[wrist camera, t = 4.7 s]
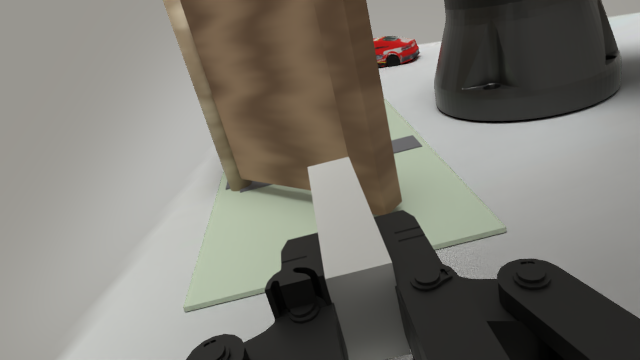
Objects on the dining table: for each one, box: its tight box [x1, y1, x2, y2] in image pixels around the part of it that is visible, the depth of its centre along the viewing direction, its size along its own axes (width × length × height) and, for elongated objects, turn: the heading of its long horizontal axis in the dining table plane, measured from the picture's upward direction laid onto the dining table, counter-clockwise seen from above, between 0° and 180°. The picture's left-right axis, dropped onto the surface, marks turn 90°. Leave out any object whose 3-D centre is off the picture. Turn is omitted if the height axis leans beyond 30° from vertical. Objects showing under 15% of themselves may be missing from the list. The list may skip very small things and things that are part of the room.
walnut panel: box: [180, 0, 402, 215], centre depth 27 cm, size 13×2×15 cm, turn 50°
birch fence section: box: [163, 0, 252, 191], centre depth 38 cm, size 2×14×16 cm, turn 5°
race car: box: [373, 36, 420, 67], centre depth 66 cm, size 13×5×4 cm, turn 65°
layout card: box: [183, 99, 506, 312], centre depth 35 cm, size 17×28×1 cm, turn 5°
